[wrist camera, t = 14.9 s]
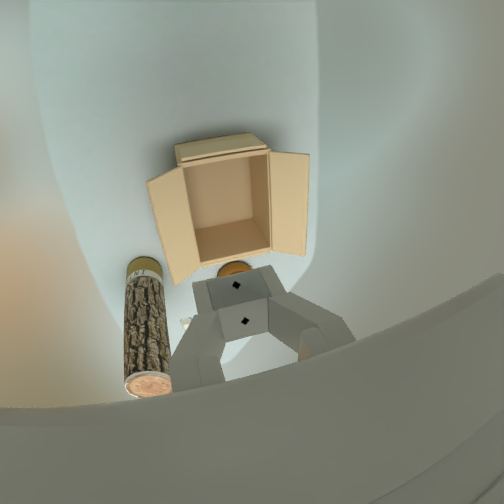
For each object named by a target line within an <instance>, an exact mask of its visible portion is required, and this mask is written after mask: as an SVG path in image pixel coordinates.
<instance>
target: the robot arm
mask: <svg viewBox="0 0 504 504" xmlns="http://www.w3.org/2000/svg"><path fill="white" fill-rule="evenodd" d="M192 287H193V292H194V297H195V302H196V307H197V311H198V315H194V317H193V319H192V320H191V322H190V324H189V326H188V328H187V330H186V331H185V333H184V335H183V337H182V339H181V341H180V342H179V344H178V346H177V348H176V350H175V352H174V353H173V355H172V357H171V359H170V361H169V363H168V365H169V372H170V380H171V387H172V393H170V394H164V395H158V396H152V397H146V398H140V399H133V400H125V401H118V402H109V403H100V404H90V405H77V406H62V407H37V408H7V407H6V408H5V407H0V504H504V274H502V273H496V274H494V275H492V276H490V277H489V278H487V279H485V280H484V281H482V282H480V283H478V284H477V285H475V286H473V287H471V288H469V289H468V290H466V291H464V292H462V293H461V294H458V295H456V296H455V297H453V298H451V299H449V300H447V301H445V302H443V303H441V304H439V305H437V306H435V307H433V308H431V309H429V310H427V311H425V312H423V313H420V314H418V315H416V316H414V317H412V318H410V319H407V320H405V321H403V322H401V323H398V324H396V325H394V326H391V327H389V328H387V329H384V330H382V331H380V332H377V333H375V334H372V335H370V336H367V337H365V338H362V339H360V340H356V339H355V337H354V335H353V334H352V332H351V331H350V329H349V328H348V326H347V325H346V323H345V322H344V320H343V318H342V317H340V316H338V315H336V314H334V313H332V312H330V311H328V310H326V309H324V308H322V307H320V306H318V305H316V304H314V303H312V302H310V301H308V300H306V299H304V298H302V297H300V296H298V295H296V294H293V293H292V292H288V293H286V291H285V289H284V287H283V285H282V283H281V282H280V280H279V278H278V276H277V274H276V273H275V271H274V269H273V267H272V266H271V265H268V266H264V267H260V268H257V269H253V270H248V271H244V272H240V273H236V274H232V275H227V276H222V277H217V278H212V279H207V280H203V281H198V282H193V283H192ZM265 332H269V333H271V334H272V335H273V336H275V337H276V338H277V339H279V340H280V341H281V342H283V343H284V344H286V345H287V346H288V347H290V348H291V349H293V350H294V351H295V352H297V353H298V362H295V363H292V364H289V365H285V366H282V367H278V368H275V369H272V370H268V371H265V372H261V373H258V374H254V375H250V376H246V377H243V378H239V379H234V380H230V381H225V378H224V375H223V371H222V368H221V364H220V359H221V356H222V353H223V350H224V347H225V343H226V342H230V341H233V340H237V339H241V338H244V337H248V336H252V335H256V334H261V333H265Z"/></svg>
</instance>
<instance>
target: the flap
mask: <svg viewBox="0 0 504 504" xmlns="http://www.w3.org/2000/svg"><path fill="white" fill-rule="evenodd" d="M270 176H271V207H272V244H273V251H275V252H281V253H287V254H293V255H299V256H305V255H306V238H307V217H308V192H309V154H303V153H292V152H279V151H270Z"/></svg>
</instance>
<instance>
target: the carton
mask: <svg viewBox="0 0 504 504" xmlns="http://www.w3.org/2000/svg"><path fill="white" fill-rule="evenodd" d="M174 148H175V155H176V161H177V166H181V167H182V172H183V178H184V184H185V190H186V195H187V201H188V206H189V212H190V217H191V222H192V227H193V232H194V237H195V242H196V247H197V252H198V257H199V262H200V266H201V267H202V268H204V267H208V266H213V265H217V264H222V263H226V262H230V261H235V260H239V259H244V258H248V257H253V256H257V255H262V254H266V253H270V250H273V244H272V207H271V176H270V151H271V148H269V147H268V146H267V145H266V144H265V143H263V142H262V141H261V140H259V139H258V138H257V137H256V136H254V135H253V134H251V133H250V132H249V133H241V134H234V135H227V136H220V137H214V138H208V139H202V140H196V141H191V142H185V143H180V144H175V145H174Z"/></svg>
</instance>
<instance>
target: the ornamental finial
mask: <svg viewBox="0 0 504 504" xmlns="http://www.w3.org/2000/svg"><path fill="white" fill-rule="evenodd" d="M248 270H252V269H251V267H250V266H249V265H247V264H245V263H242V262H233V263H230V264H227V265H226V266H224V267H223V268H222V269H221V270H220V272H219V274H218V276H217V277H222V276H227V275H232V274H236V273H240V272H244V271H248Z"/></svg>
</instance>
